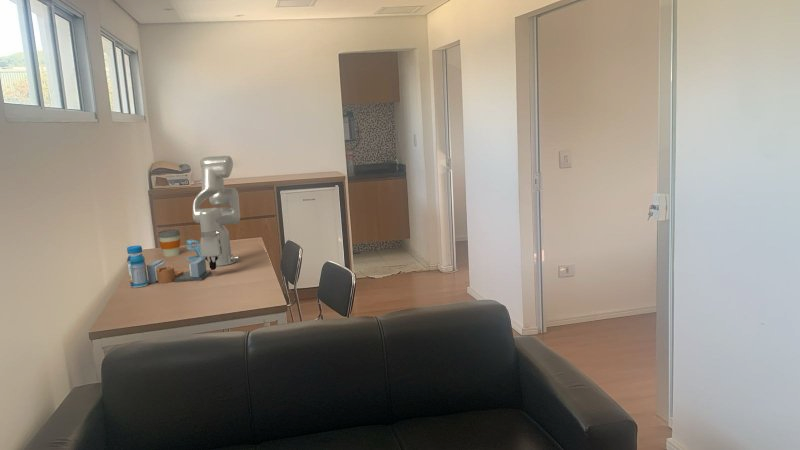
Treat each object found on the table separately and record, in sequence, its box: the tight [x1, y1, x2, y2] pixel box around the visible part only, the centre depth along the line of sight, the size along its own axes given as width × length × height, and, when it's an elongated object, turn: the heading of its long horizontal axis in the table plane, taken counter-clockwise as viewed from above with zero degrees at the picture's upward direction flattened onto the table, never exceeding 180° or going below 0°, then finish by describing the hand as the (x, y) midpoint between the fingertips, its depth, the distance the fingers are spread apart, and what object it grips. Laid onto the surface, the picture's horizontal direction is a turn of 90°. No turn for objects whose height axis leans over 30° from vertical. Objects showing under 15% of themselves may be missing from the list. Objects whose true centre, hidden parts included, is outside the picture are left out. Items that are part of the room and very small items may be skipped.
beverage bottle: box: [126, 244, 149, 289], centre depth 308 cm, size 8×8×20 cm
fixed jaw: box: [146, 259, 166, 284], centre depth 320 cm, size 4×13×9 cm, turn 0°
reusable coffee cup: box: [157, 229, 181, 258], centre depth 384 cm, size 13×13×15 cm
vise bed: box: [174, 269, 212, 283], centre depth 321 cm, size 14×16×2 cm
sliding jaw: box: [188, 258, 208, 277], centre depth 320 cm, size 4×13×7 cm, turn 0°
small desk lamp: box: [185, 239, 201, 262], centre depth 367 cm, size 8×8×12 cm
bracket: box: [156, 266, 184, 285], centre depth 320 cm, size 18×8×7 cm, turn 174°
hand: (213, 269), depth 320 cm, fingers closed
